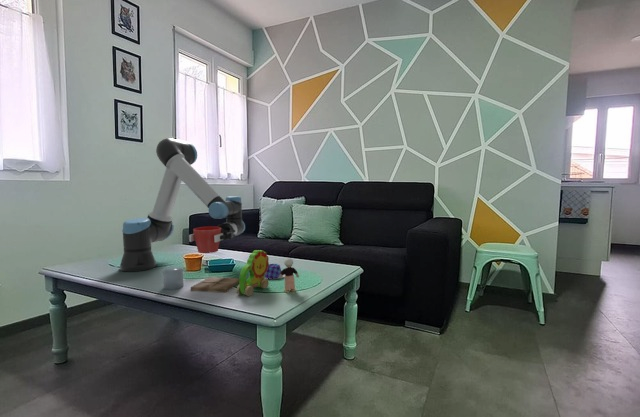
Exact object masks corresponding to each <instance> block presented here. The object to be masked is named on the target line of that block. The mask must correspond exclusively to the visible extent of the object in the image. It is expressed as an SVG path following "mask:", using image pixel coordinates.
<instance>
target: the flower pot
mask: <svg viewBox="0 0 640 417" xmlns="http://www.w3.org/2000/svg"><path fill="white" fill-rule="evenodd" d="M192 230H193V232H194V236H195V245H196V247H197V252H198V253H199V254H213V253H217V252H218V251H219V248H220V243H221V241H219V242H214V236H215V235H218V234H221V227H217V226H200V227H195V228H193V229H192ZM193 232H192V233H193Z"/></svg>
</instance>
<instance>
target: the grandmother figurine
mask: <svg viewBox="0 0 640 417" xmlns="http://www.w3.org/2000/svg"><path fill="white" fill-rule="evenodd" d="M284 265H285V267H286V268H283V269H281V273H280V276H279V279H280V280H281V279H283V278H282V276H283V275H285V277H284V291H283V292H284V293H287V294H288V293H290V292H291V293H295V292H296V290H297V289H296V284H295V283H296V282H295V276H296V278H299V277H300V275H299V272H298V271H297V269H296V268H295V267H292V266H293V265H294V260H293V259H292V258H290V257H288V258H286V259H285V260H284ZM294 274H295V276H294Z"/></svg>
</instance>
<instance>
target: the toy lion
mask: <svg viewBox="0 0 640 417" xmlns="http://www.w3.org/2000/svg"><path fill="white" fill-rule="evenodd" d="M269 258H270V257H269V256H268V254H267V252H266V251H264V250H261V249H260V250H259V249H258V250H257V249H255V250H253V251H252V252H251V253H250V254H249V257H248V259H247V262H246V263H245V264H244V265H243V266H242V268H241V270H240V273H239V277H238V278H239V283H238V285H237V286H236V295H239V296H240V295H245V297H251V296H252V295H253V293H254V288H262V289H264V290H265V289H267V288H268V287H269V283H270V282H269V279H268V278H267V279H265V273H266V272H267V268H268V266H269V264H270V263H269V261H270V260H269ZM248 272H249V276H248V278H247V275H248Z"/></svg>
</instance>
